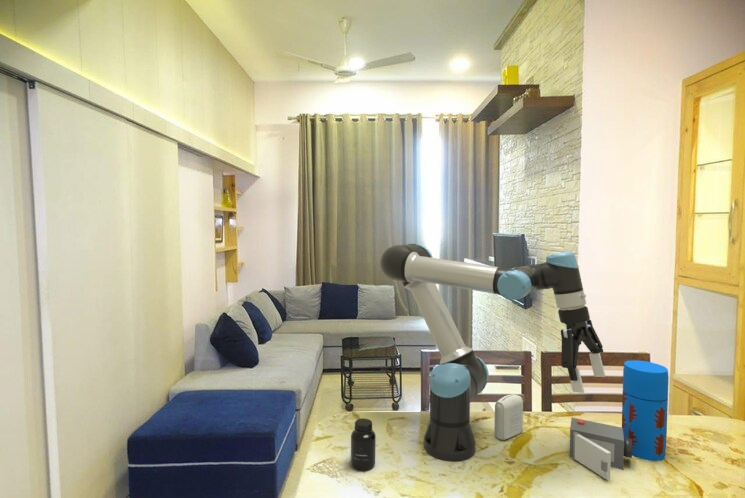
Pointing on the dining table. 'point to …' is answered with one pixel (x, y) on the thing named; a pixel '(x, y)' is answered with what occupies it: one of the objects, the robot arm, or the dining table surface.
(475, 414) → the dining table surface
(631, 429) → the thermos
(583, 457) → the side door
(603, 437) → the camera body
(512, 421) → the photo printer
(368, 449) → the supplement bottle
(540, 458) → the dining table surface
